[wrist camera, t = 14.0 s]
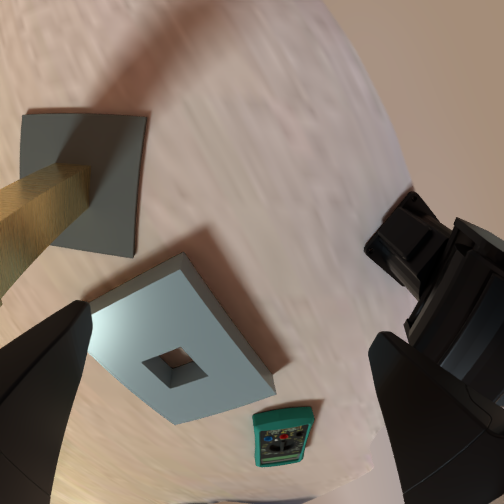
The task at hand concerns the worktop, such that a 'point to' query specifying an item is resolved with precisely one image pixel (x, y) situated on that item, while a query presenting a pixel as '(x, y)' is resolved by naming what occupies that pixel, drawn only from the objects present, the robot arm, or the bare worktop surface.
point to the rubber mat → (92, 173)
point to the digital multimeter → (281, 435)
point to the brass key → (38, 215)
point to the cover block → (176, 345)
